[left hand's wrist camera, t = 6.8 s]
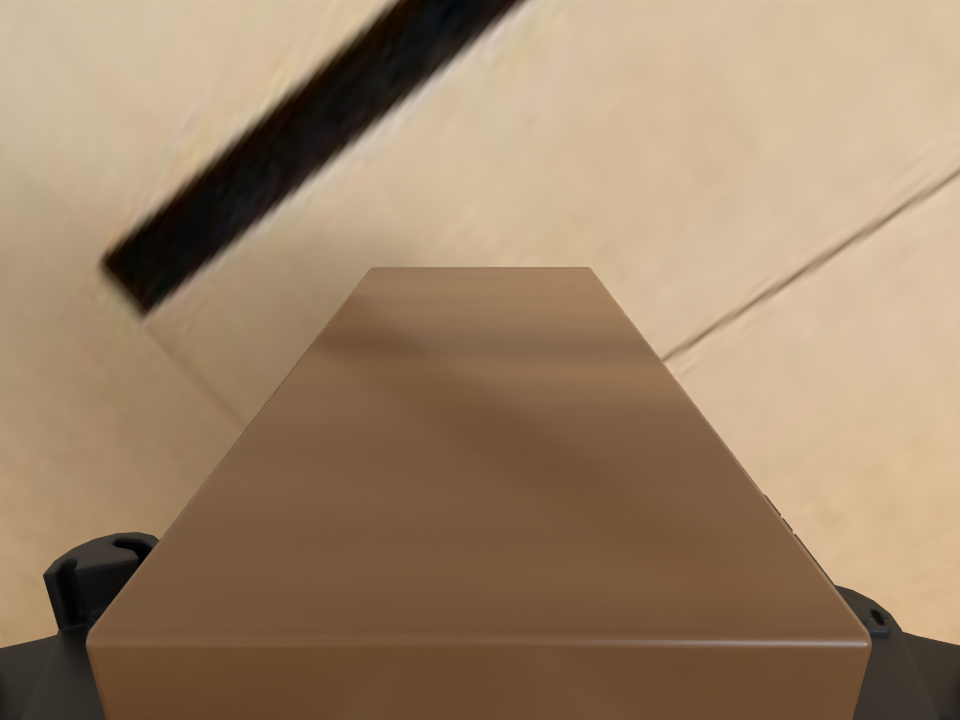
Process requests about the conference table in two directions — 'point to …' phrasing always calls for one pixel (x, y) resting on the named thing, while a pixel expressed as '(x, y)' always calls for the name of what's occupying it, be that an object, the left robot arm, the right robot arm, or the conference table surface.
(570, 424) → the box
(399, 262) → the conference table surface
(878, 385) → the conference table surface
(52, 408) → the conference table surface
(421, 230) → the conference table surface
